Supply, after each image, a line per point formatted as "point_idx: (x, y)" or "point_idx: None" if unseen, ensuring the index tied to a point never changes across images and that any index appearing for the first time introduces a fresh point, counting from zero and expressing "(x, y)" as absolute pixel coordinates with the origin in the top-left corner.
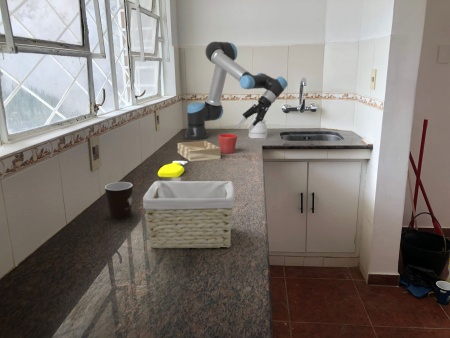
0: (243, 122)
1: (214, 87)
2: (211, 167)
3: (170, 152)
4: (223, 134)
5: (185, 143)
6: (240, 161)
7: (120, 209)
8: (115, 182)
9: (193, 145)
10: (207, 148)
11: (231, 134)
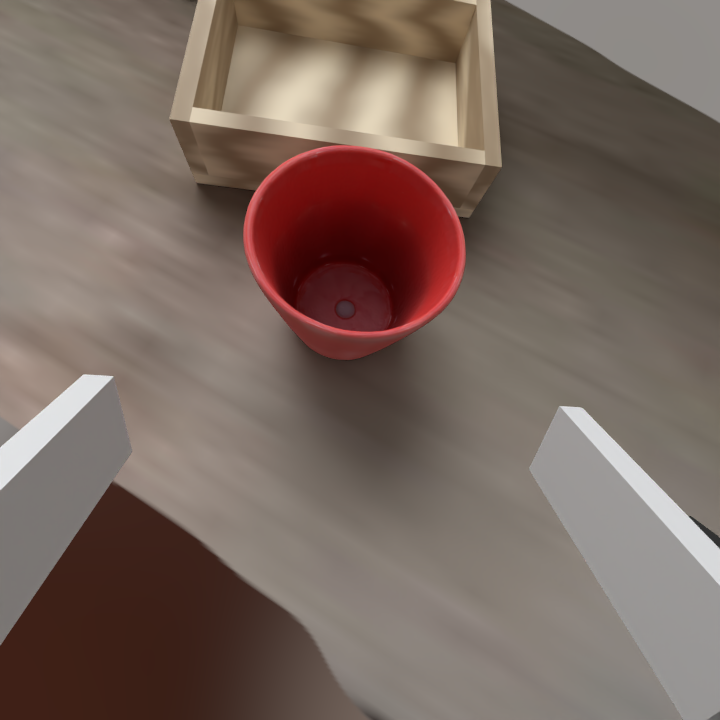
0: (603, 571)
1: None
2: (26, 42)
3: None
4: (457, 241)
5: (476, 37)
6: (27, 245)
7: None
8: None
9: (470, 101)
10: None
11: (423, 315)
